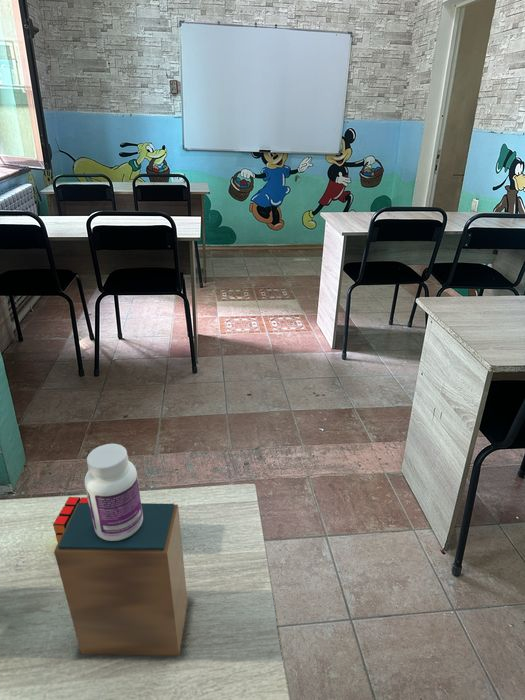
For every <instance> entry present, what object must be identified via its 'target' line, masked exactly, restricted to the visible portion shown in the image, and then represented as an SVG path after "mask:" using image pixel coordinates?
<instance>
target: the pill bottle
mask: <svg viewBox="0 0 525 700" xmlns="http://www.w3.org/2000/svg"><path fill="white" fill-rule="evenodd" d="M86 462H87V469H88V470H87V472H86V474H85V476H84V489H85V492H86V498H88V503H89V508H90V512H91V516H92V521H93V525H94V529H95V532H96V534H97V535H98V536H99V537H100V538H102V539H104V540H108V541H118V540H122V539H125V538H128V537H129V536H131V535H133V534H134V533H135V532H136V531H137V530H138V529H139V528H140V526H141V524H142V521H143V513H142V506H141V503H142V499H141V491H140V486H139V479H138V472H137V469H136V467H135V465H134V464H133V463H132V462H131V461H130V460H129V456H128V451H127V449H126V447H124V446H123V445H122V444H119V443H106V444H102V445H99V446H97V447H95V448H93V449H92V450H90V452H89V453H88V455H87V456H86Z"/></svg>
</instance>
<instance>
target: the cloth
mask: <svg viewBox="0 0 525 700" xmlns="http://www.w3.org/2000/svg"><path fill="white" fill-rule="evenodd" d="M174 504H175V503H154V502H153V503H151V502H150V503H146V502H145V503H144V502H141V506H142V513H143V521H142V524H141V526H140V528H139V529H138V530H137V531H136V532H135V533H134V534H133V535H131V536H129V537H128V538H125V539H122V540H118V541H108V540H104V539H102V538H100V537H99V536H98V535H97V534H96V532H95V529H94V525H93V521H92V516H91V512H90V508H89V503H79V504H78V506H77V509H76V511H75V513H74V515H73V517H72V519H71V521H70V523H69V525H68V527H67V529H66V531H65V533H64V536H63V538H62V540H61V542H60V544H59V546H58V548H59V549H99V550H164V548H165V543H166V539H167V535H168V531H169V527H170V522H171V518H172V514H173V510H174Z"/></svg>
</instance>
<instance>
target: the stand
mask: <svg viewBox="0 0 525 700" xmlns="http://www.w3.org/2000/svg"><path fill="white" fill-rule="evenodd" d="M78 504H79V503H78ZM78 504H77V505H76V507H75V510H74V512H73V514H72V516H71V518H70V520H69V522H68V524H67V526H66V528H65V530H64V532H63V534H62V536H61V538H60V540H59V542H57V544H56V547H55V549H54V552H53V553H54V556H55V560H56V564H57V568H58V571H59V575H60V578H61V584H62V587H63V590H64V591H63V592H64V594H65V595H64V596H65V598H66V602H67V606H68V610H69V613H70V617H71V621H72V625H73V629H74V632H75V635H76V640H77V644H78V647H79V651H80V655H115V656H116V655H117V656H119V655H120V656H121V655H123V656H125V655H127V656H179V655H180V652H181V646H182V641H183V640H182V639H183V634H184V629H185V628H184V627H185V622H186V616H187V609H188V593H187V583H186V574H185V563H184V562H185V561H184V552H183V542H182V531H181V521H180V510H179V504H176V503H173V504H174V510H173V514H172V518H171V522H170V527H169V531H168V535H167V539H166V543H165V548H164V550H99V549H59V548H58V546H59V544H60V542H61V540H62V538H63V536H64V533H65V531H66V529H67V527H68V525H69V523H70V521H71V519H72V517H73V515H74V513H75V511H76V509H77V506H78Z"/></svg>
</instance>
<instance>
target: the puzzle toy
mask: <svg viewBox="0 0 525 700" xmlns="http://www.w3.org/2000/svg"><path fill="white" fill-rule="evenodd" d="M78 503H88V498H87V497H83V496H82V497H80V496H69V497H68V498H67V500H66V501H65V503H64V506H62V508H61V510H60V511H59V513H58V515H57V517H56V519H55V520H54V522H53V523H52V526H53V531H54V533H55V539H56V543H58V542H59V540H60V538H61V536H62V534H63V532H64V530H65V528H66V526H67V524H68V522H69V520H70V518H71V516H72V514H73V512H74V510H75V507H76V505H77V504H78Z"/></svg>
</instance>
